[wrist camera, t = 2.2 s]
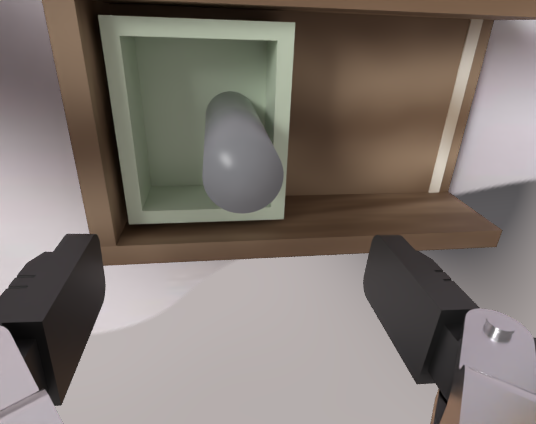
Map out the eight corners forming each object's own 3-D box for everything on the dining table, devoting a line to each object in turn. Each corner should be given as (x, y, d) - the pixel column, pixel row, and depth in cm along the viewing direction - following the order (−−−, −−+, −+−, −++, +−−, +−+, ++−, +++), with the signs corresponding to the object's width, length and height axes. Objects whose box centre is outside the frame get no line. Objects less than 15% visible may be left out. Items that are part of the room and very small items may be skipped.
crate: (119, 16, 20) (38, 10, 11) (280, 22, 21) (335, 22, 12) (141, 193, 25) (99, 298, 15) (272, 189, 26) (308, 286, 17)
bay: (87, -22, 20) (33, -42, 14) (489, -2, 24) (588, -10, 17) (122, 209, 27) (96, 265, 20) (437, 200, 30) (496, 247, 24)
